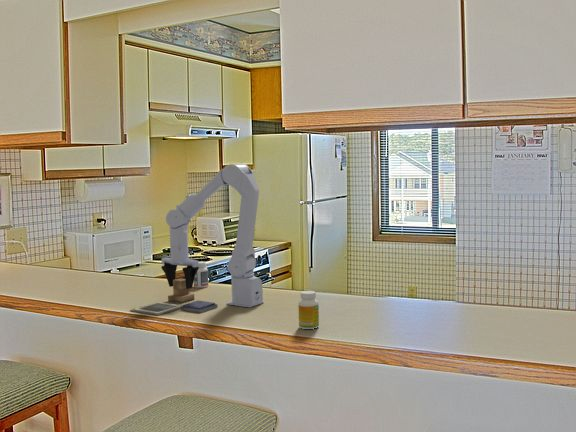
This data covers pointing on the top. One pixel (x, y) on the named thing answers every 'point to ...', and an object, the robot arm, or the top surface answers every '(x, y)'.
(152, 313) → the marked square
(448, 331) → the top surface
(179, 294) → the stamp
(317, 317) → the supplement bottle
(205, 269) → the pill bottle
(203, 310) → the ink pad
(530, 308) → the top surface
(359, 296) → the top surface
